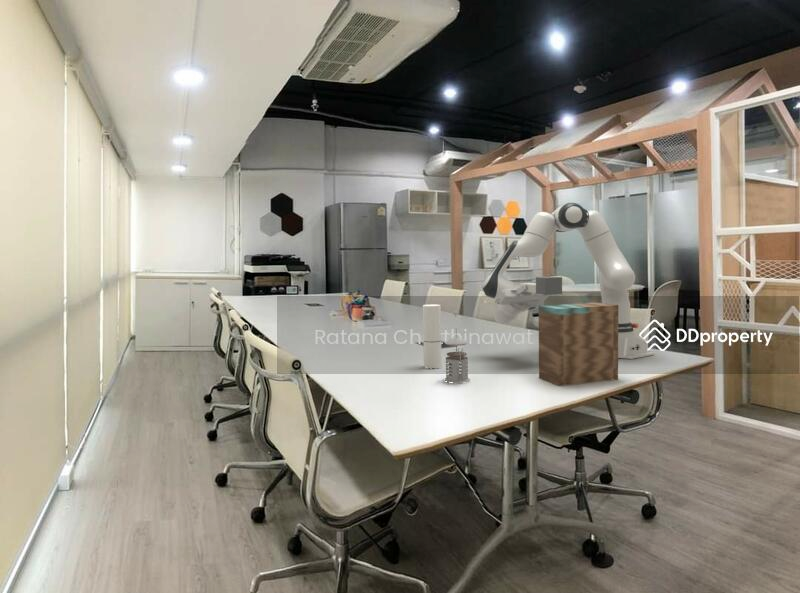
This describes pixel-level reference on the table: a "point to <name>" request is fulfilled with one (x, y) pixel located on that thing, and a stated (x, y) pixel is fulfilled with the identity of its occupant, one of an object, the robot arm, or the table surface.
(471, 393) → the table surface
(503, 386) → the table surface
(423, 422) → the table surface
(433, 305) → the cylindrical container
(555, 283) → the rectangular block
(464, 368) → the french press
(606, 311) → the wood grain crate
